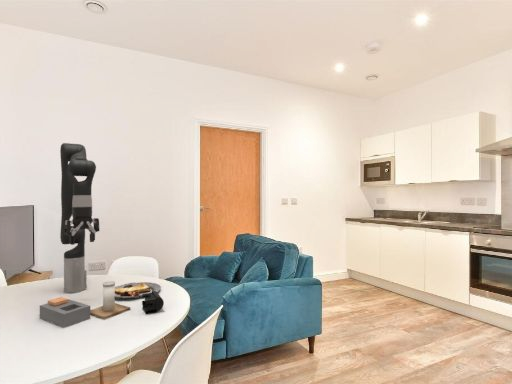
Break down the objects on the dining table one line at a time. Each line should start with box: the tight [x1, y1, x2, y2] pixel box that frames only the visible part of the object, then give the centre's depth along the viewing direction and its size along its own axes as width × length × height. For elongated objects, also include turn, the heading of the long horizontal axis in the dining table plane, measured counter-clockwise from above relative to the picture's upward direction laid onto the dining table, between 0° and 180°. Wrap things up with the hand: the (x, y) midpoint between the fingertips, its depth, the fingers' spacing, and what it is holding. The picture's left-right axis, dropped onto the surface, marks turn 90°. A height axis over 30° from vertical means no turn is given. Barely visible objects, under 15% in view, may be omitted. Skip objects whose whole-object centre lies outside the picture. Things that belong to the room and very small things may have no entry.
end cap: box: [141, 290, 164, 315], centre depth 132 cm, size 10×7×7 cm
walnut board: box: [90, 302, 131, 320], centre depth 130 cm, size 12×12×1 cm
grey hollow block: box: [39, 298, 91, 329], centre depth 124 cm, size 10×18×5 cm, turn 59°
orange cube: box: [47, 296, 69, 306], centre depth 126 cm, size 5×5×5 cm
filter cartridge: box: [102, 280, 116, 311], centre depth 130 cm, size 5×5×11 cm
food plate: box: [115, 281, 162, 299], centre depth 155 cm, size 25×23×4 cm
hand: (82, 243), depth 135 cm, fingers open, 8 cm apart
